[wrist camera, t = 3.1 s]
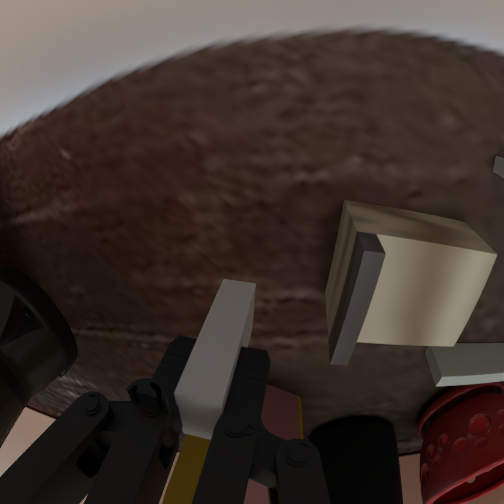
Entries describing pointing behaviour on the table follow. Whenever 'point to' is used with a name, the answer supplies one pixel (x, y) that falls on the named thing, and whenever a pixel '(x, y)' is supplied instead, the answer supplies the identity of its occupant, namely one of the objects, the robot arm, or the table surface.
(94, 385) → the table surface
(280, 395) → the alarm clock
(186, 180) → the table surface
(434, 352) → the dock
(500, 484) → the plant pot
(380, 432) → the coffee jar
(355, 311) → the beige block
